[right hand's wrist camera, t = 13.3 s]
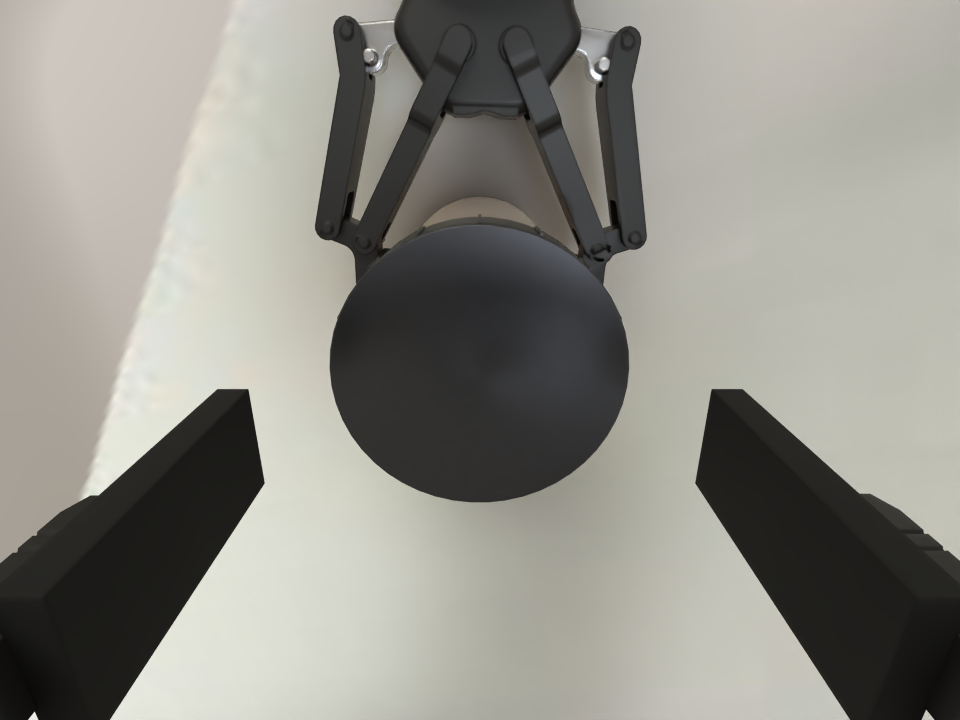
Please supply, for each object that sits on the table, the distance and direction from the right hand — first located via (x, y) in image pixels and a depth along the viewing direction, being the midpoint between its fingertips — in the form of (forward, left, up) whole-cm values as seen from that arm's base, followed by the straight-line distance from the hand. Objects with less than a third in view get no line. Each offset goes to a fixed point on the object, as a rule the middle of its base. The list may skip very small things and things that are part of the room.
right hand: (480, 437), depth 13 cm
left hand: (-3, -4, -16) cm, 17 cm away
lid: (0, 0, -5) cm, 5 cm away
